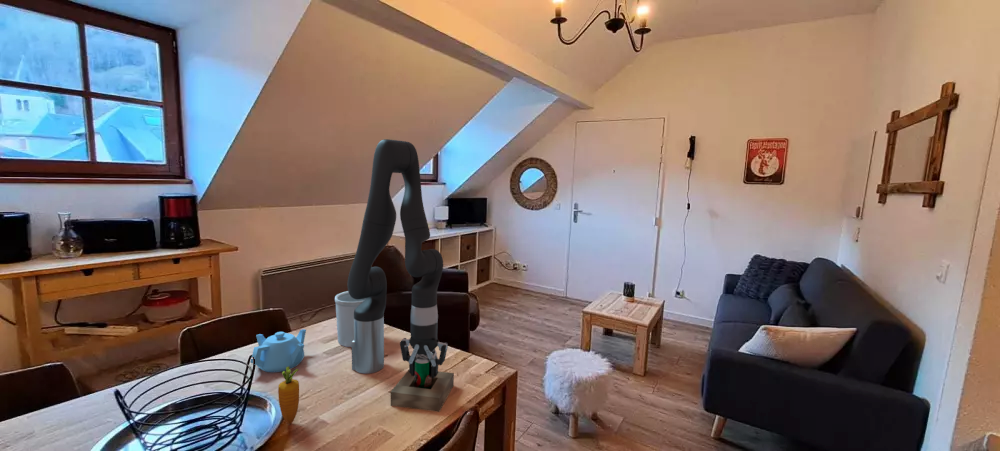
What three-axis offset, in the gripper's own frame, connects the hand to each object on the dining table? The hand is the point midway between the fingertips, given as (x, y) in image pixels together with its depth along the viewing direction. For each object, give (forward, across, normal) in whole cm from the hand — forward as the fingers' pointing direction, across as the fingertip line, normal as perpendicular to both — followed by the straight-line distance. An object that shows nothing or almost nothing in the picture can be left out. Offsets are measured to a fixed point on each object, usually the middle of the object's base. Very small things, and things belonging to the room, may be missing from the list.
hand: (423, 375), depth 116 cm
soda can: (+6, 0, 0) cm, 6 cm away
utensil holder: (+6, -38, +31) cm, 49 cm away
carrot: (+6, -28, -20) cm, 35 cm away
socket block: (+6, 0, 0) cm, 6 cm away
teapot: (+6, -52, +8) cm, 53 cm away
